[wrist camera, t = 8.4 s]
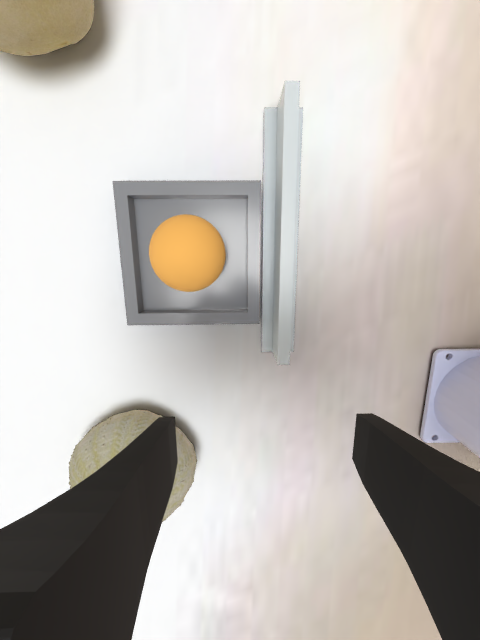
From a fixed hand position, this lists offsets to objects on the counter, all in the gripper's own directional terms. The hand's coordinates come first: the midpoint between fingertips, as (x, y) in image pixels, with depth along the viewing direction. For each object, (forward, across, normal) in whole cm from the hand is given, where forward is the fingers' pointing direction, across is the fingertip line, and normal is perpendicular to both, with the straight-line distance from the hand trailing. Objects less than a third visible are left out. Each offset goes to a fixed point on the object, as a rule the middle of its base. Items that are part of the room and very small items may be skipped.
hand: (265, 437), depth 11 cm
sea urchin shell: (+11, +9, +9) cm, 17 cm away
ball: (+8, +4, -7) cm, 11 cm away
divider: (+10, -2, -8) cm, 13 cm away
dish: (+10, +4, -7) cm, 13 cm away
